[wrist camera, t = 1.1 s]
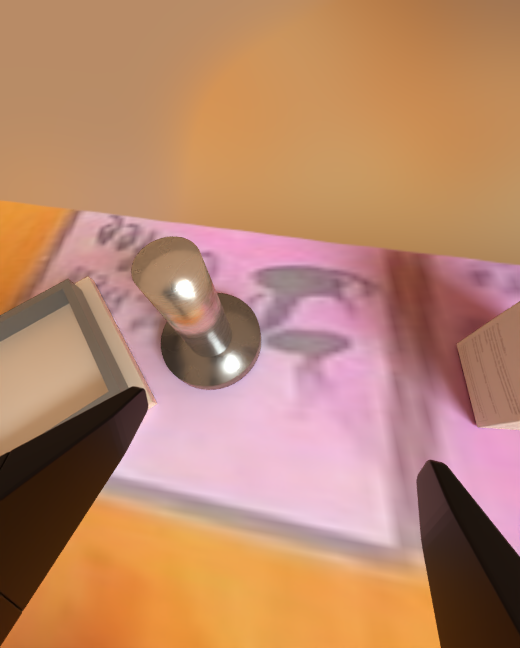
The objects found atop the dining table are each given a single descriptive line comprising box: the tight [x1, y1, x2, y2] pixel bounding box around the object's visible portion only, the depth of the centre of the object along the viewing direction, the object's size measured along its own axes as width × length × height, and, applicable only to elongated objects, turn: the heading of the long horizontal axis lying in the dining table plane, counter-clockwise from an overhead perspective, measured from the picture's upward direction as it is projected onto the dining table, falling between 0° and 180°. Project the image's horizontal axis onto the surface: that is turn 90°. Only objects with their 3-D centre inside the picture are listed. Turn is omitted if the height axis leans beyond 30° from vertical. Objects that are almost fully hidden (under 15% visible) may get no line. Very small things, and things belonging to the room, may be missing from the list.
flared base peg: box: [131, 237, 261, 390], centre depth 21 cm, size 9×9×12 cm
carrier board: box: [0, 276, 157, 456], centre depth 25 cm, size 16×16×3 cm
